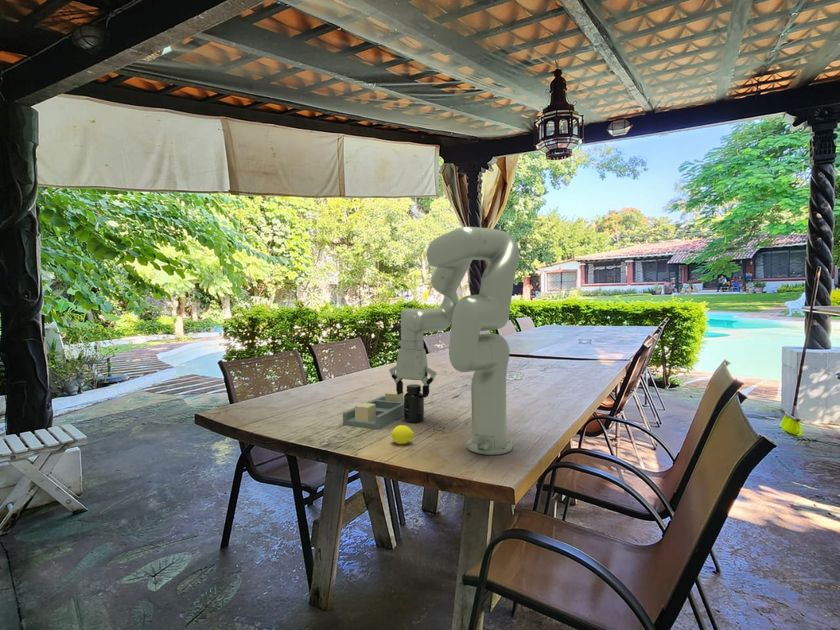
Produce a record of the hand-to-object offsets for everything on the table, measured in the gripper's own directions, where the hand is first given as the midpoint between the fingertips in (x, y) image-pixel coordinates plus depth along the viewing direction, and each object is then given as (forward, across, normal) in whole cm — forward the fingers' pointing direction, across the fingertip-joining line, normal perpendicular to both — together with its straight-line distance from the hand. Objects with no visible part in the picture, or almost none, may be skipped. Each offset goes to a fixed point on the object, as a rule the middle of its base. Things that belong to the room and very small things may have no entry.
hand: (412, 395), depth 151 cm
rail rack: (+9, -12, 0) cm, 15 cm away
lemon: (+8, +8, -22) cm, 25 cm away
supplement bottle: (+9, +1, 0) cm, 9 cm away
